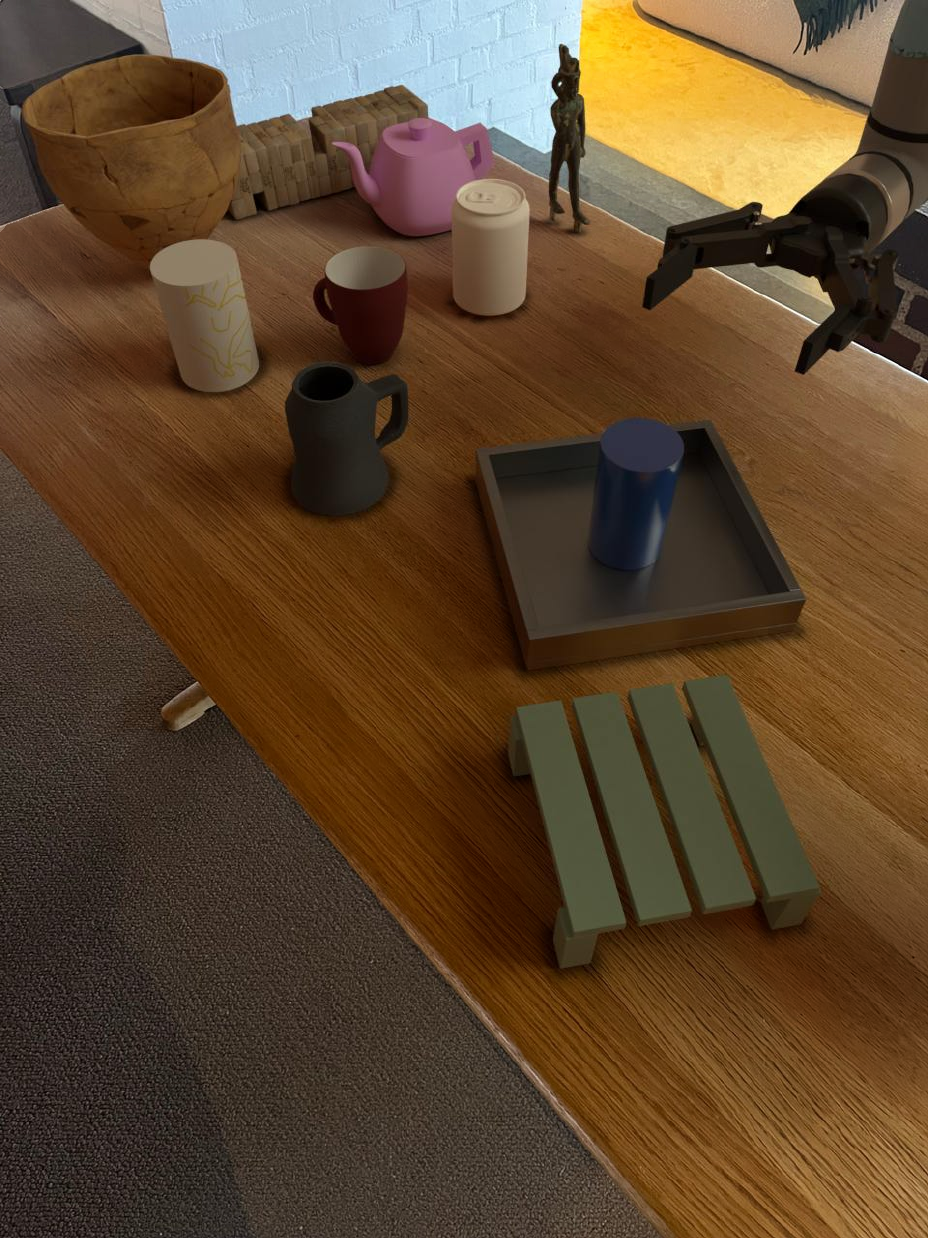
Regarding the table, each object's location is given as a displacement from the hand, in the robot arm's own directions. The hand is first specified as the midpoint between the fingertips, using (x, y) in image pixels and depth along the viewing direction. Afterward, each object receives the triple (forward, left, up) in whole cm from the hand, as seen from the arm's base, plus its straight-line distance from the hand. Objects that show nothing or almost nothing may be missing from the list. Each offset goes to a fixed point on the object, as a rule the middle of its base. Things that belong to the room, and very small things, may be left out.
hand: (722, 325), depth 74 cm
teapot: (+54, +16, -18) cm, 59 cm away
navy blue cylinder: (-6, +7, -17) cm, 19 cm away
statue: (+47, -1, -18) cm, 50 cm away
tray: (-6, +7, -18) cm, 20 cm away
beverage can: (+34, +11, -18) cm, 40 cm away
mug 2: (+8, +29, -18) cm, 35 cm away
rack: (-32, +13, -18) cm, 39 cm away
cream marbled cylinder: (+27, +41, -18) cm, 53 cm away
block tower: (+65, +28, -18) cm, 73 cm away
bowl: (+47, +46, -18) cm, 68 cm away
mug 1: (+27, +26, -18) cm, 42 cm away
